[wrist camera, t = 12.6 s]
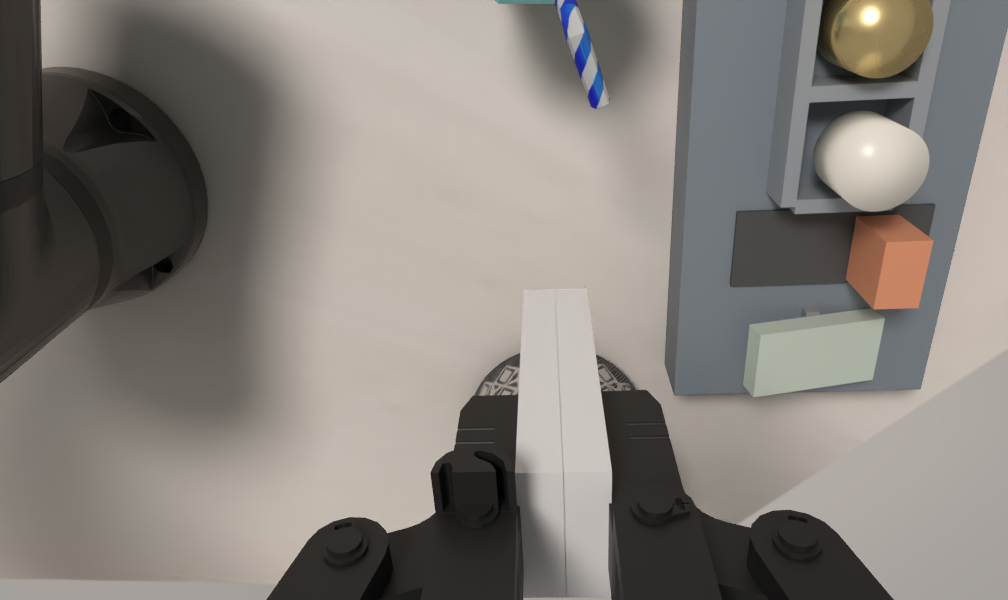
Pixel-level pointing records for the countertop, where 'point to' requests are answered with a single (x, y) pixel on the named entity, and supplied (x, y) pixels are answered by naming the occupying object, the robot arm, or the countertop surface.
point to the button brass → (874, 34)
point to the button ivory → (871, 160)
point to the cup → (577, 48)
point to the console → (806, 179)
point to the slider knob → (888, 261)
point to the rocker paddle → (812, 352)
